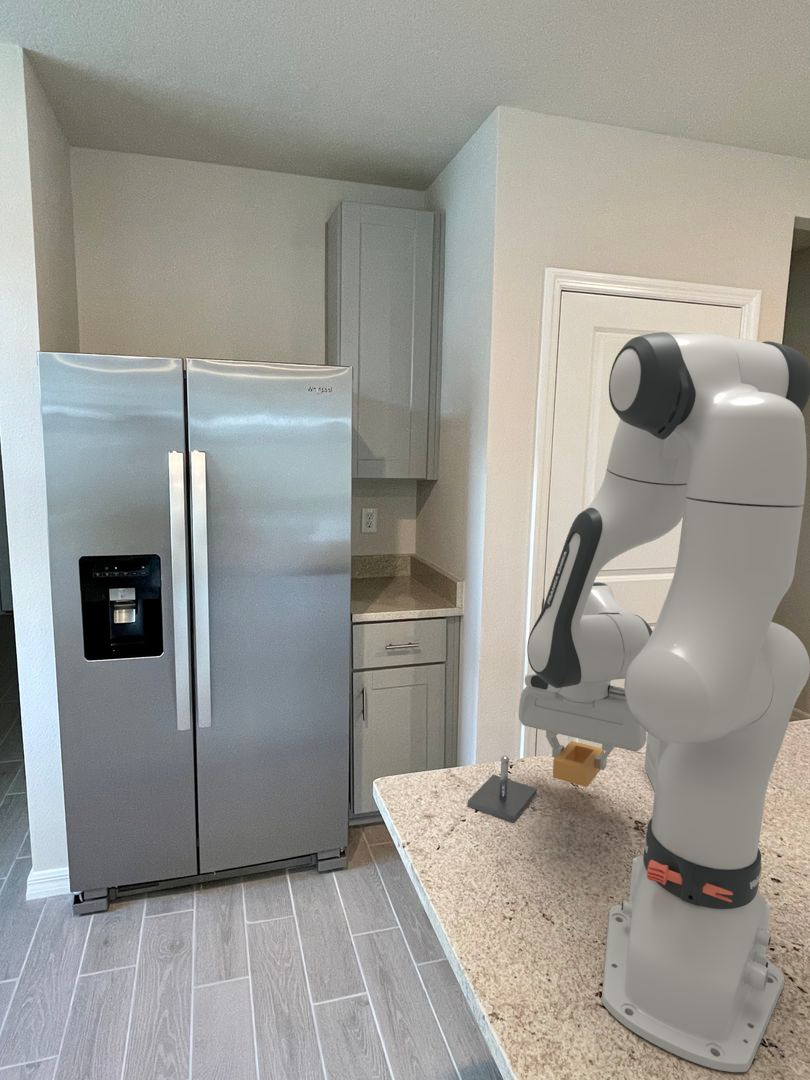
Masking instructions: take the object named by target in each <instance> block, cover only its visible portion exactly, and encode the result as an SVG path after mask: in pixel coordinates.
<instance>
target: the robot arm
mask: <svg viewBox="0 0 810 1080" xmlns="http://www.w3.org/2000/svg"><path fill="white" fill-rule="evenodd" d="M609 373H610V374H609V379H608V380H609V381H608V396H609V401H610V405H611V407H612V409H613V411H614V412H615V414H616V415H617V416H618V418H619V422H618V425H617V427H616V431H615V434H614V435H613V436H614V437H613V440H612V443H611V448H610V451H609V456H608V460H607V466H606V470H605V474H604V478H603V480H602V482H601V483H602V484H601V486H600V487H599V489H598V492H597V493H596V495H595V497H594V499H593V500H592V502H591V503H590V504H589V505H588V507H587V508H586V509H584V510H582V511H581V512H580V513H579V514H578V515H577V516H576V517H575V518H574V520H573V522H572V524H571V526H570V529H569V531H568V534H567V536H566V539H565V541H564V544H563V548H562V550H561V553H560V556H559V558H558V562H557V565H556V568H555V570H554V574H553V576H552V579H551V583H550V586H549V589H548V591H547V595H546V598H545V599H544V603H543V607H542V609H541V611H540V613H539V615H538V617H537V619H536V621H535V623H534V625H533V627H532V629H531V631H530V633H529V636H528V640H527V648H526V649H527V650H526V651H527V653H526V654H527V659H528V663H529V666H530V668H531V670H530V671H529V672H528V673H526V674H525V676H524V684H525V686H526V687H524V688H523V689H522V691H521V694H520V698H519V706H518V720H519V721H520V723H521V725H522V726H525V727H529V728H532V729H537V730H541V731H545V737H546V739H547V741H548V743H549V745H550V747H551V748H552V749H551V750H552V751H551V753H552V755H551V757H552V758H554V759H555V758H556V757H557V755H558V754H559V753H560V752H561V751H562V750H563V749H564V748H565V745H563V744H560V742H559V740H558V737H557V736H558V734H559V735H562V736H567V737H570V738H575V739H579V740H585V741H588V742H593V743H596V744H601V748H602V750H604V754H603V755H599V754H598V755H597V757H595V765H594V767H595V768H597V769H601V770H600V771H605V769H606V768H607V765H608V764H607V759H608V757H609V755H610V754H611V753H612V752H613V750H614V749H615V748H618V749H622V750H624V751H625V750H627V751H630V752H635V753H636V752H639V751H641V749H643V747H644V746H645V745H646V743H647V734H648V733H649V734H651V735H652V736H654V737H655V738H657V739H659V740H662V741H665V742H668V743H669V745H668V746H667V748H666V749H665V750H664V752H663V754H662V755H661V757H660V760H659V763H658V766H657V772H656V783H655V790H654V795H653V805H652V814H651V815H652V816H651V818H650V820H649V821H648V823H647V828H646V832H645V835H644V842H643V844H644V845H643V846H644V847H643V848H644V850H643V853H642V854H640V855H638V856H635V857H633V858H632V866H631V867H632V869H631V879H630V890H629V898H628V899H629V901H627V900H623V902H622V903H621V904H616V905H613V906H611V907H610V909H609V913H608V919H607V930H606V941H605V954H604V955H605V956H604V967H603V978H602V979H603V980H602V989H601V991H602V992H601V994H602V995H601V1003H602V1005H603V1006H604V1007H605V1009H606V1010H607V1011H608V1012H609V1013H610V1014H611V1015H612V1016H613V1017H614V1018H615V1019H616V1020H618V1022H619V1023H621V1024H622V1025H623V1026H624V1027H626V1028H627V1029H629V1030H630V1031H631V1032H633V1033H635V1035H638V1036H639V1037H642V1038H643V1039H644V1040H646V1041H648V1042H650V1043H652V1044H653V1045H655V1046H656V1047H659V1048H661V1049H663V1050H665V1051H666V1052H669V1053H671V1054H673V1055H675V1056H678V1057H680V1058H682V1059H684V1060H687V1061H689V1062H692V1063H694V1064H697V1065H700V1066H703V1067H706V1068H710V1069H713V1070H718V1071H723V1072H728V1073H729V1072H730V1073H745V1072H747V1071H749V1069H750V1068H751V1066H752V1063H753V1062H754V1059H755V1056H756V1054H757V1051H758V1049H759V1046H760V1044H761V1042H762V1040H763V1037H764V1035H765V1032H766V1030H767V1027H768V1025H769V1022H770V1020H771V1018H772V1015H773V1013H774V1011H775V1008H776V1005H777V1003H778V1000H779V998H780V996H781V993H782V991H783V988H784V985H785V984H784V983H785V981H784V979H785V978H784V974H783V972H782V971H781V969H780V968H778V966H777V965H775V964H774V963H773V962H772V961H770V960H769V959H768V958H767V956H766V955H767V949H768V948H769V947H770V945H771V939H772V935H771V934H770V933H769V929H770V918H771V909H772V908H771V907H772V906H771V905H770V904H769V903H768V901H767V899H766V898H765V897H764V896H763V895H762V893H761V892H760V890H759V885H760V879H761V876H762V868H763V867H762V853H761V852H762V851H761V850H760V848H759V846H760V845H759V844H760V837H761V830H762V823H763V822H762V821H763V816H764V808H765V801H766V794H767V790H768V787H769V784H770V783H769V782H770V779H771V776H772V773H773V769H774V766H775V764H776V760H777V758H778V755H779V753H780V750H781V747H782V745H783V743H784V739H785V736H786V734H787V731H788V726H789V723H790V720H791V716H792V713H793V711H794V707H795V705H796V702H797V700H798V698H799V696H800V694H801V692H802V691H803V689H804V688H805V686H806V684H807V681H808V679H809V676H810V657H809V653H808V651H807V649H806V647H805V645H804V643H803V642H802V641H801V640H800V638H799V637H798V635H796V634H795V633H794V632H793V631H792V630H790V629H788V628H787V627H786V626H784V625H781V624H779V623H776V622H773V618H774V616H775V613H776V611H777V609H778V606H779V605H780V603H781V601H782V600H783V597H784V596H785V594H786V593H787V592H788V591H789V589H790V588H791V585H792V583H793V580H794V578H795V569H796V561H797V555H798V547H799V541H800V533H801V526H802V518H803V511H804V505H805V497H806V488H807V486H806V485H807V468H808V467H807V465H808V463H807V459H808V458H807V456H808V455H807V453H808V452H807V451H808V450H807V434H806V424H805V417H804V415H803V413H802V412H803V411H804V409H805V407H806V406H807V404H808V401H809V399H810V364H809V361H808V360H807V358H806V357H805V356H804V355H803V354H802V353H801V352H800V351H798V350H797V349H795V348H792V347H790V346H788V345H786V344H782V343H779V342H775V341H769V340H767V341H762V342H761V341H757V340H751V339H747V338H746V339H745V338H740V337H733V336H732V337H731V336H725V335H723V334H719V333H678V334H670V332H669V333H668V332H665V331H664V332H663V331H662V332H661V331H660V332H653V333H647V334H643V335H642V334H641V335H639V336H636V337H633V338H631V339H630V340H628V341H627V342H626V343H625V344H624V346H623V347H622V348H621V349H620V350H619V352H618V353H617V354H616V356H615V358H614V361H613V363H612V366H611V370H610V372H609ZM681 521H682V522H681ZM680 523H681V530H680V538H679V539H680V540H679V545H678V554H677V558H676V559H677V560H676V564H675V569H674V574H673V577H672V579H671V580H672V581H671V584H670V586H669V589H668V592H667V595H666V597H665V599H664V603H663V604H662V607H661V609H660V613H659V615H658V617H657V620H656V622H655V625H654V627H653V629H652V628H651V626H650V625H649V623H648V622H647V621H646V620H645V619H644V618H642V617H641V616H640V615H638V614H633V613H632V612H630V611H629V610H628V609H626V608H625V607H624V606H622V604H620V603H619V601H618V600H617V599H616V598H615V596H614V594H613V590H612V588H611V586H610V585H608V584H606V583H605V582H604V583H603V582H598V581H596V582H595V580H596V578H597V576H598V575H599V573H600V571H602V569H603V568H604V567H605V566H606V565H607V564H608V563H610V562H611V561H612V560H613V559H615V558H616V557H619V556H620V555H622V554H625V553H626V552H628V551H630V550H632V549H635V548H637V547H639V546H642V545H644V544H648V543H651V542H653V541H656V540H658V539H660V538H661V537H663V536H666V534H668V533H669V532H671V531H672V530H673V529H675V528H676V527H677V526H678V525H679V524H680ZM614 680H624V685H623V686H624V688H623V687H620V686H616V685H615V686H614V685H611V681H614Z"/></svg>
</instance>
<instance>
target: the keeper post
mask: <svg viewBox="0 0 810 1080" xmlns="http://www.w3.org/2000/svg"><path fill="white" fill-rule="evenodd" d="M509 764H510V758H509V757H508V756H507V755H503V756H501V757H500V775H497V774H492V775H491V776H490V777H488V779H487V780H486V781H485V782H484V783H483V784H482V786H480V787H479V788H478V790H476V792H474V793H473V795H472V796H470V798H469V799H467V808H472V809H474V810H477V811H479V812H482V813H485V814H488V815H491V816H494V817H497V818H499V819H502V820H505V821H508V822H510V823H515V822H516V821H517V819H518V818H519V817H520V816H521V815H522V813H524V811H525V809H526V808H527V807H528V806H529V804H531V802H532V801H533V799H534V798H535V796H537V793H538V788H537V787H534V786H531V785H528V784H524V783H521V782H517V781H515V780H512V779H508V778H509V766H510V765H509Z"/></svg>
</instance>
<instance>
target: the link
mask: <svg viewBox="0 0 810 1080" xmlns="http://www.w3.org/2000/svg"><path fill="white" fill-rule="evenodd" d="M604 753H605V751H604V750H602V747H597V746H594V745H589V744H586V743H582V742H581V743H580V742H577V741H573V740H571V741H570V742H569V743H568V744H567V745H566V746H564V749H563V750H562V751H561V752H560V753H559V754H558V755H557V757H556V758H554V759H553V760H552V761H553V765H552V766H553V767H552V778H554V779H557V780H560V781H563V782H568V783H571V784H575V785H578V786H580V787H585V788H588V787H589V786H590V785H591V783H592V782H593V780H594V779H595V778H596V777H597V776H598V774H599V772H600V771H602V770H601V769H597V768H595V767H594V765H595V757H597V755H598V754H599V755H603V754H604Z"/></svg>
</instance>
